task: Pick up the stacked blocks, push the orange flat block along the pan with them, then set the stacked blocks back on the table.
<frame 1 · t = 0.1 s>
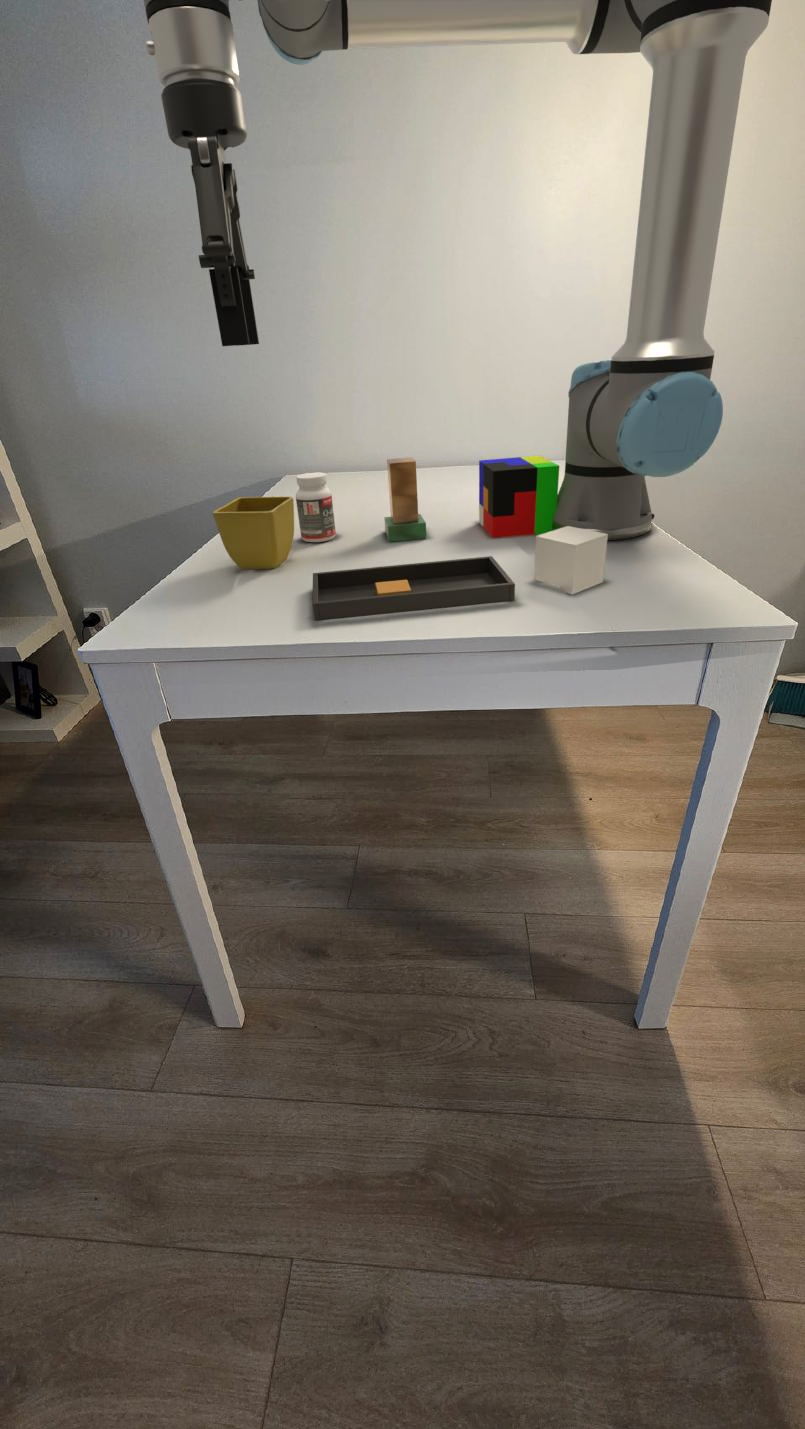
hand: (242, 345, 72), 28 cm above the table, tool pointing down, fingers open, 13 cm apart
orange flat block: (393, 595, 78), point 1 cm above the table, touching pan
flower pot: (265, 568, 94), on the table
puzzle toy: (515, 529, 105), on the table, touching arm
beige cube: (568, 584, 80), on the table
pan: (409, 598, 79), on the table
pill bottle: (319, 539, 106), on the table
stacked blocks: (405, 535, 104), on the table
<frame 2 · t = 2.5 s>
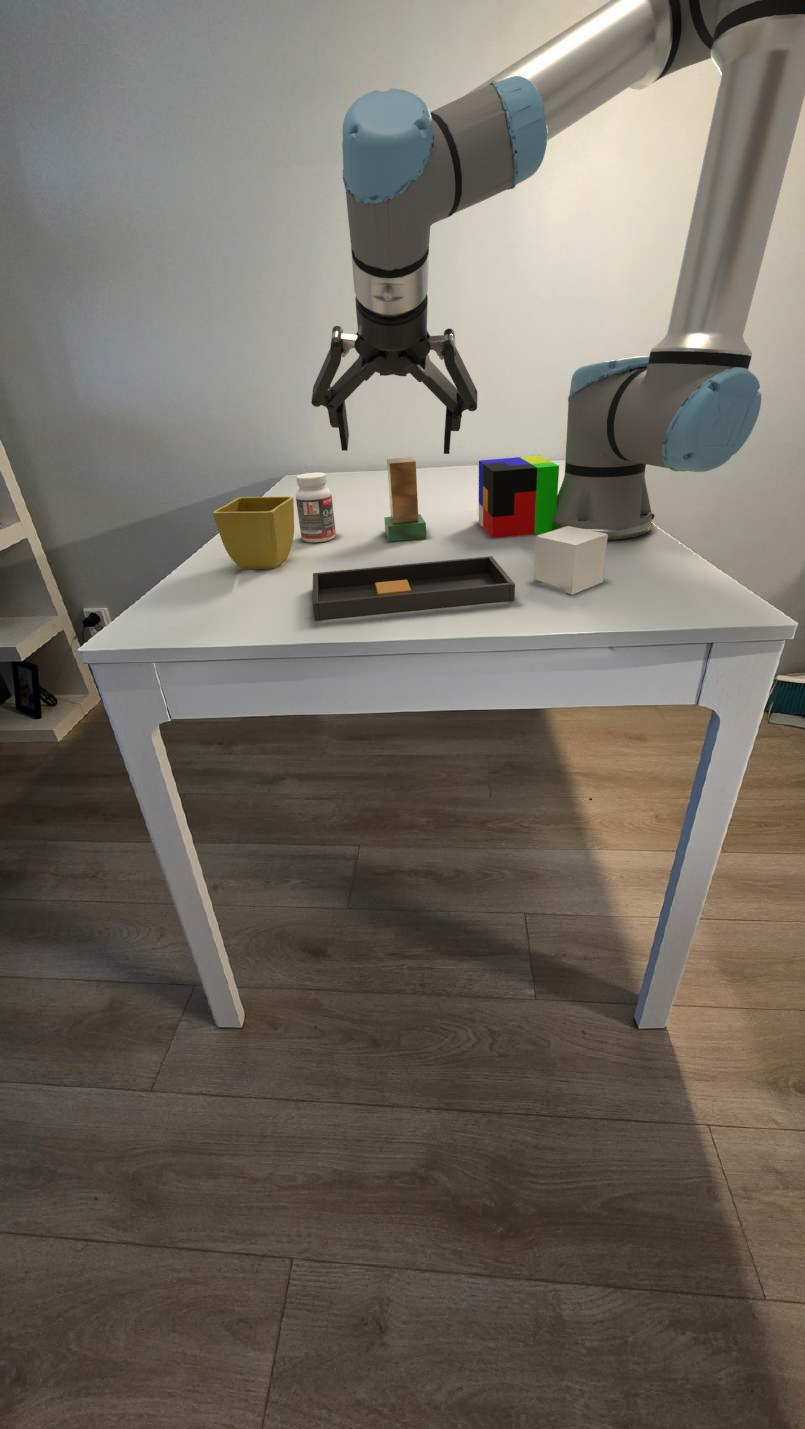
hand: (395, 444, 86), 15 cm above the table, tool tilted 40°, fingers open, 13 cm apart
nothing on the table moved.
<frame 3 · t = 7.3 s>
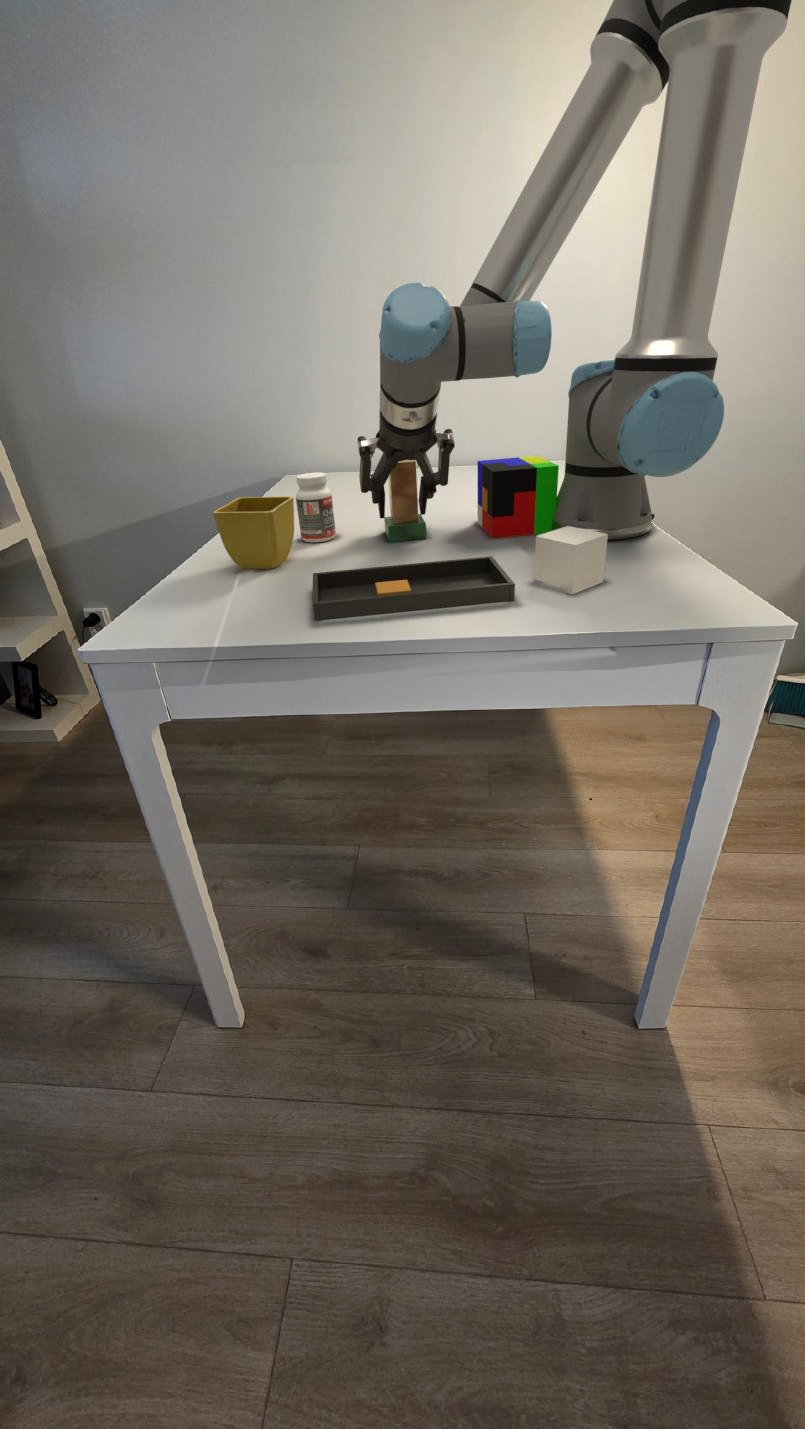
hand: (401, 509, 105), 3 cm above the table, tool tilted 45°, fingers closed on stacked blocks, 6 cm apart
stacked blocks: (405, 535, 104), on the table, touching gripper
everything else where it was.
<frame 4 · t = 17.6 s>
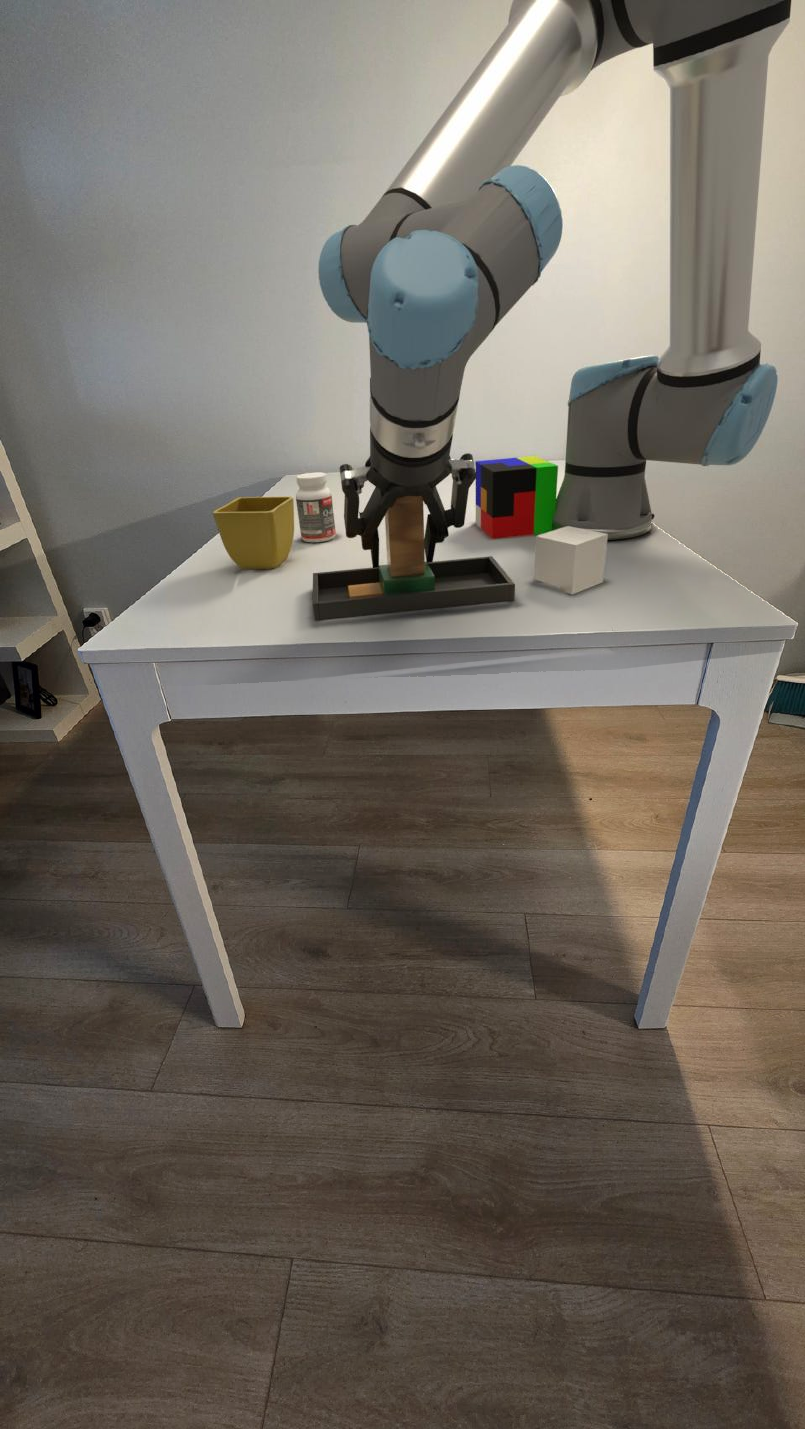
hand: (401, 555, 80), 4 cm above the table, tool tilted 45°, fingers closed on stacked blocks, 6 cm apart
orange flat block: (366, 598, 78), point 1 cm above the table, touching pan
stacked blocks: (406, 590, 78), point 1 cm above the table, touching gripper
everything else where it was.
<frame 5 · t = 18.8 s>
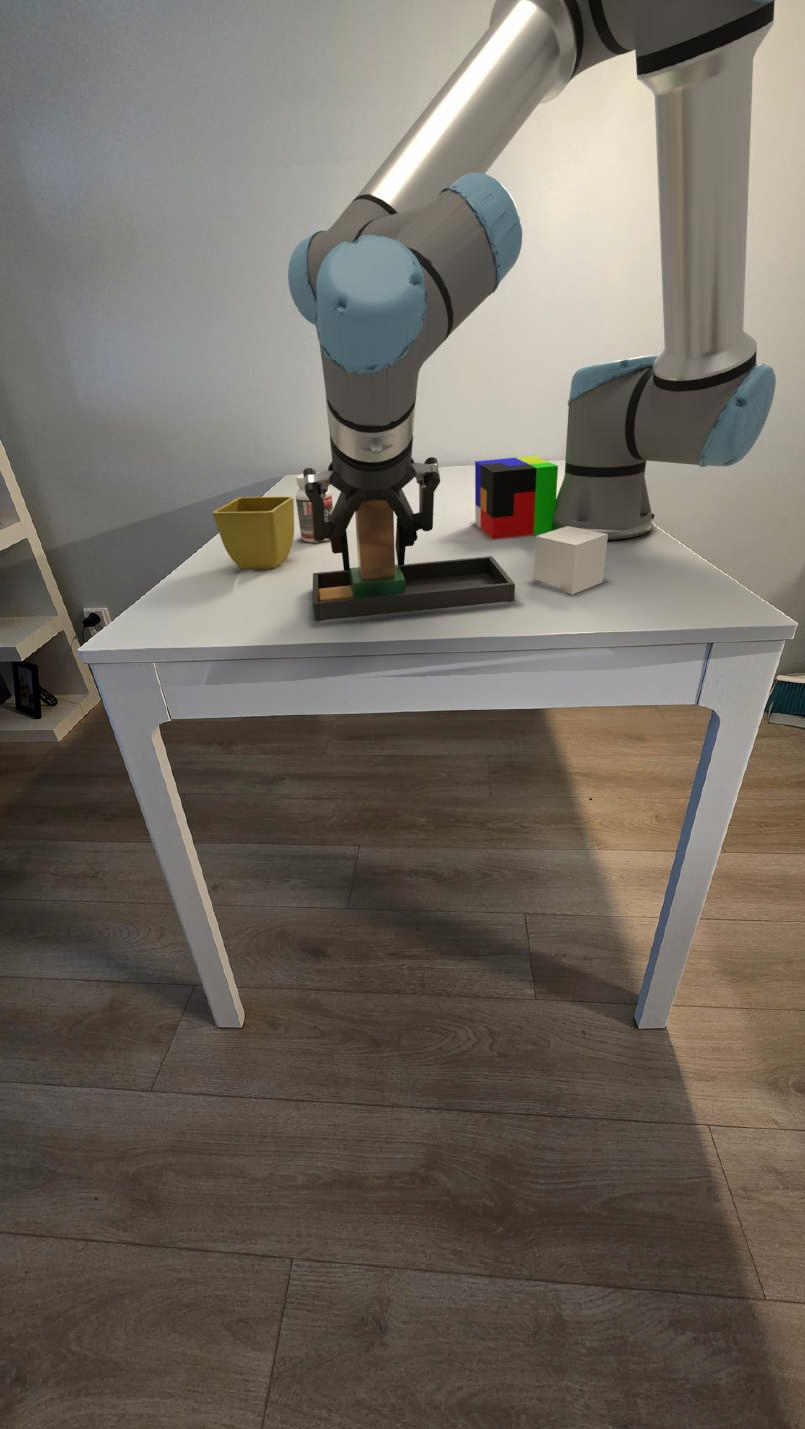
hand: (372, 558, 79), 4 cm above the table, tool tilted 45°, fingers closed on stacked blocks, 6 cm apart
orange flat block: (336, 601, 78), point 1 cm above the table, touching stacked blocks, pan
stacked blocks: (377, 593, 78), point 1 cm above the table, touching orange flat block, gripper
everything else where it was.
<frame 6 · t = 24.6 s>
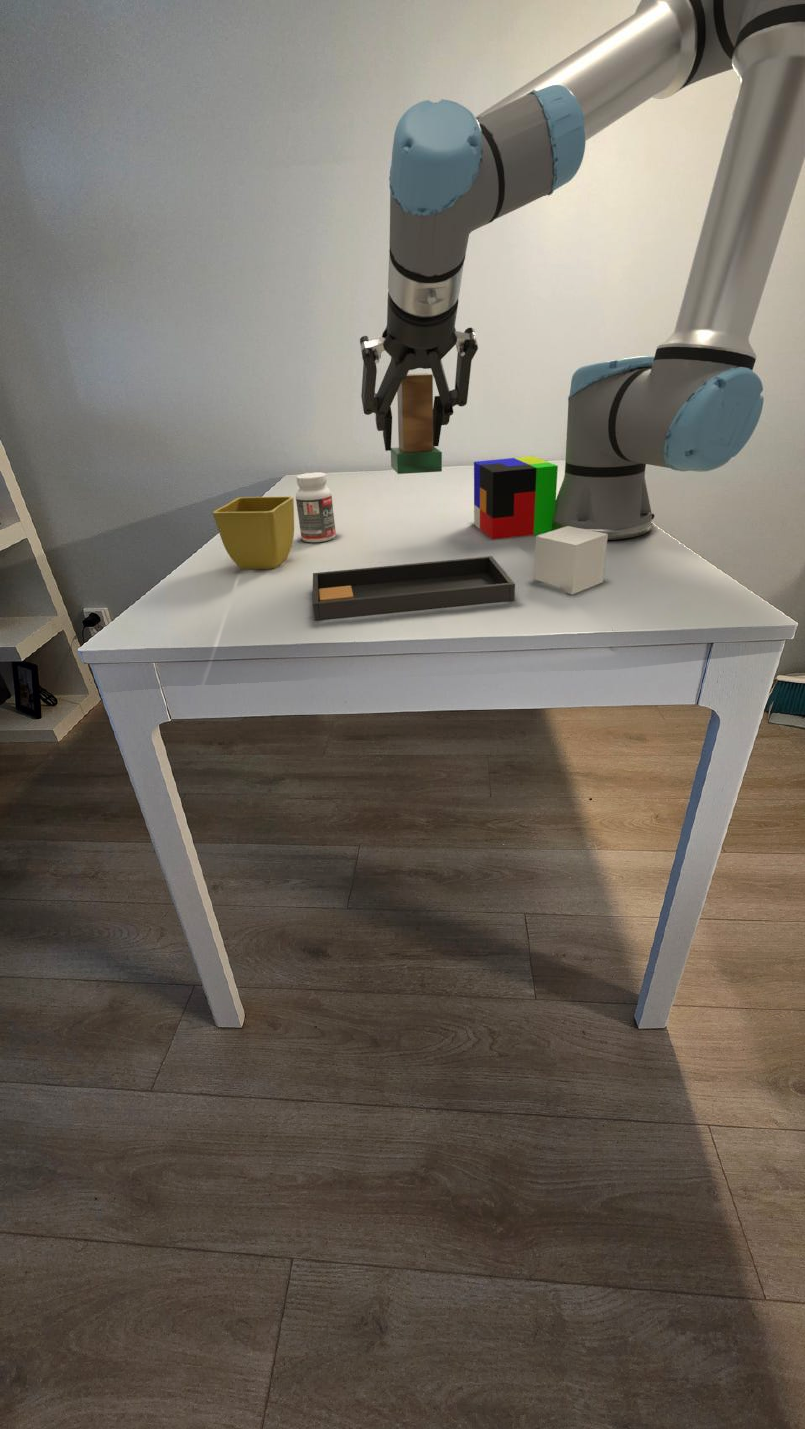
hand: (410, 440, 90), 15 cm above the table, tool tilted 45°, fingers closed on stacked blocks, 6 cm apart
orange flat block: (336, 601, 78), point 1 cm above the table, touching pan
stacked blocks: (415, 469, 88), point 12 cm above the table, touching gripper
everything else where it was.
when the fingers open (3 cm above the table, at t = 29.6 s): stacked blocks stays where it is, on the table.
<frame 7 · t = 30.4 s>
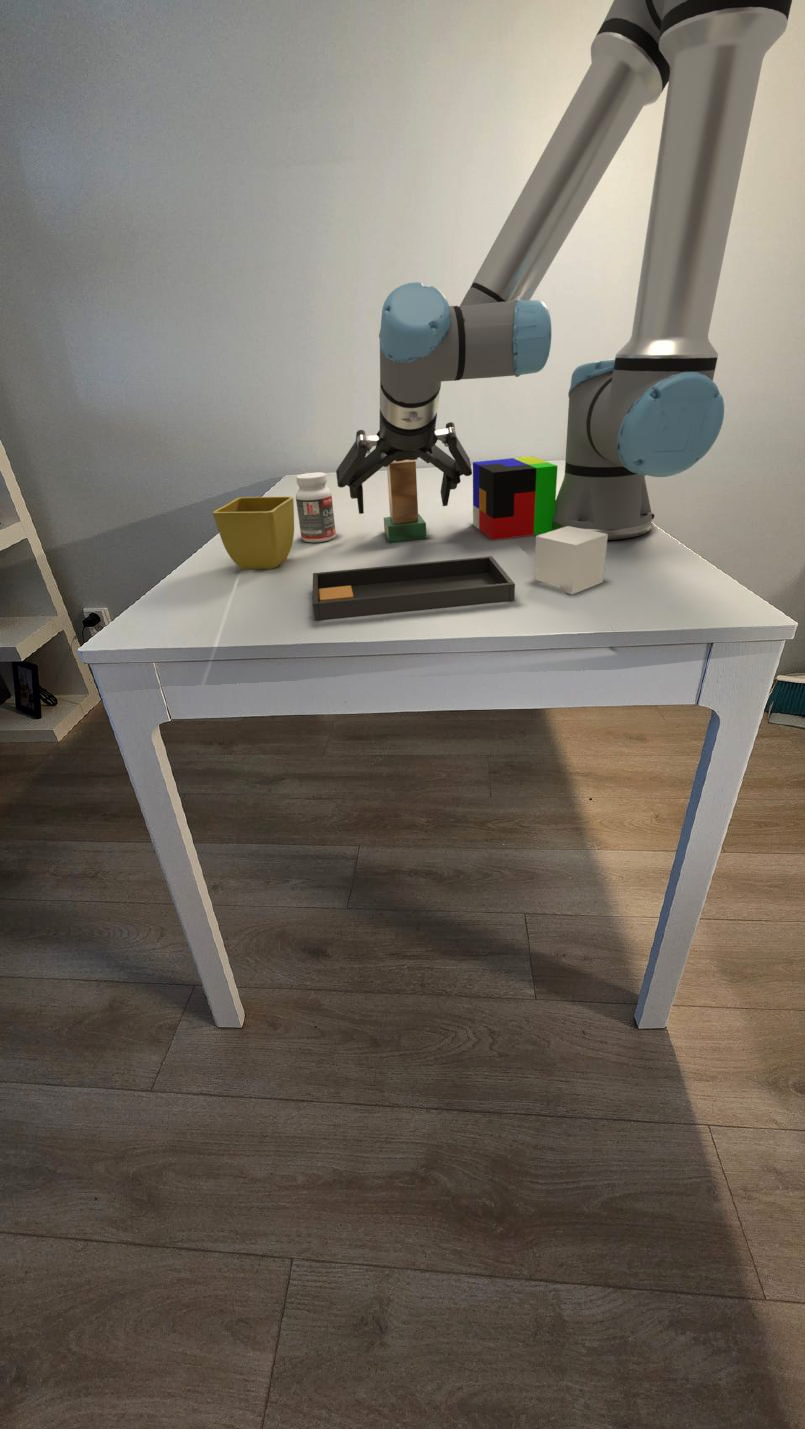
hand: (402, 502, 104), 5 cm above the table, tool tilted 45°, fingers open, 13 cm apart
stacked blocks: (405, 535, 104), on the table
everything else where it was.
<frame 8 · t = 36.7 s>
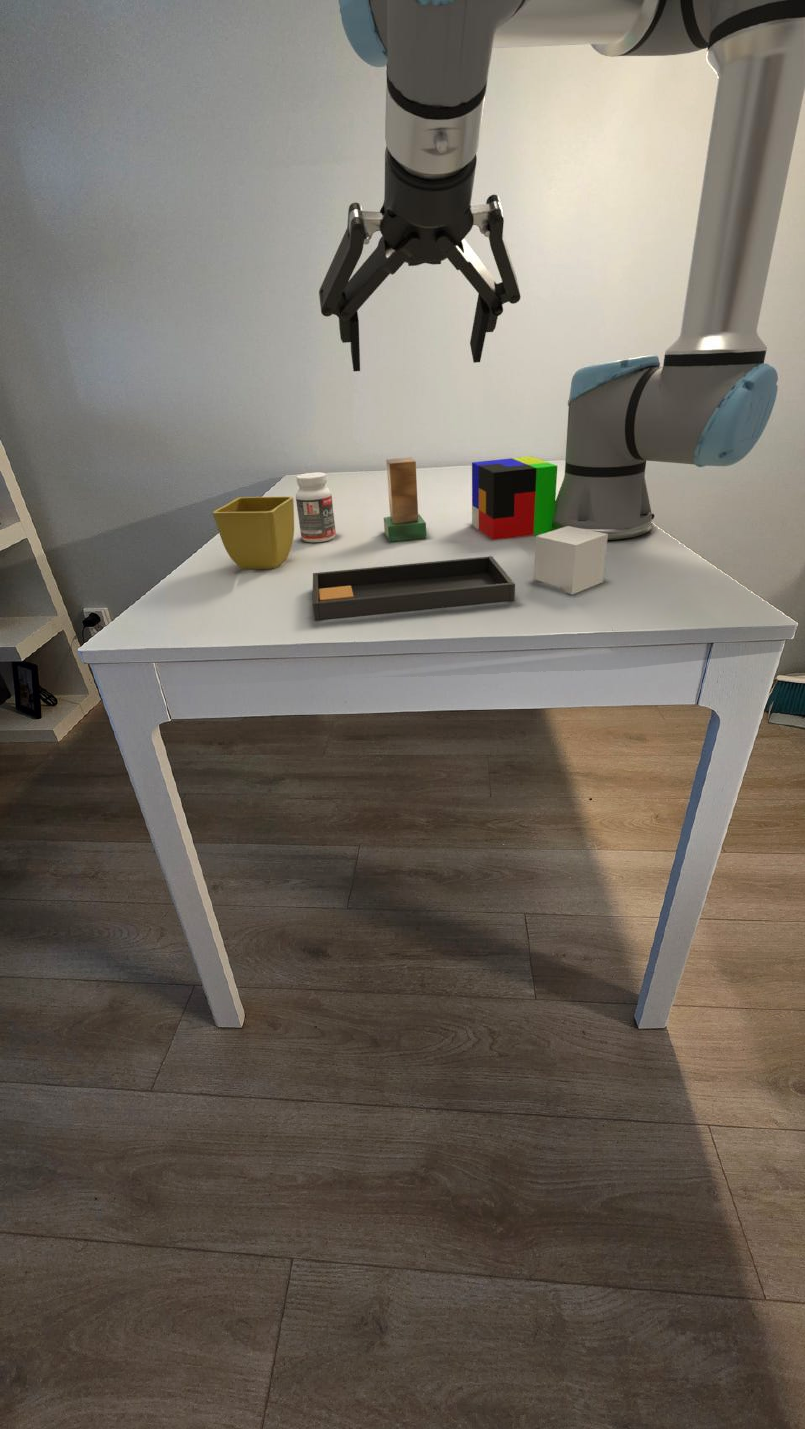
hand: (415, 357, 72), 26 cm above the table, tool tilted 45°, fingers open, 13 cm apart
at the end: orange flat block inside the target area in the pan (1.2 cm from its centre), point 0.6 cm above the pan's base; stacked blocks inside the target area (0.1 cm from its centre), on the table; stacked blocks tilted 0° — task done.
